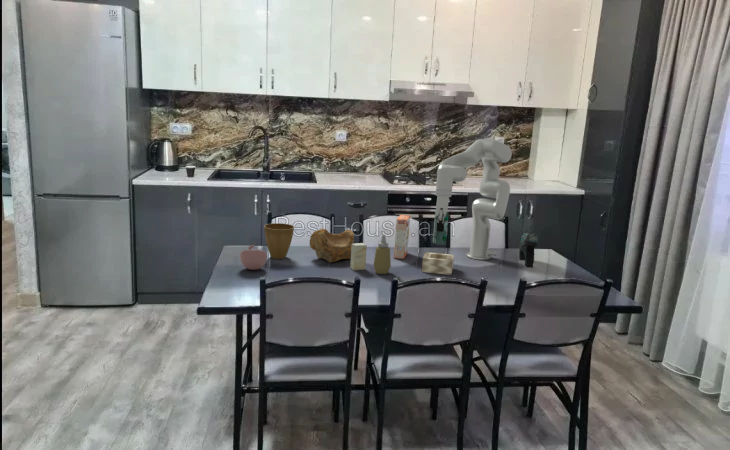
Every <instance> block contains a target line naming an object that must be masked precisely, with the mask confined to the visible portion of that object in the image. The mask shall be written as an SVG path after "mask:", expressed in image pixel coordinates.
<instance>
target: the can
mask: <svg viewBox="0 0 730 450" xmlns="http://www.w3.org/2000/svg"><path fill="white" fill-rule="evenodd" d="M435 214H436V211H434V223H433V234H432V235H433V236H432V243H433V244H436V245H446V244H447V239H448V238H447V236H448V227H449V226H448V225H449V224H448V222H449V214H450V213H449V212H448V211H447V213H446V217H444V230H443V232H441V231H437V223H438V216H437V217H436V216H435ZM443 215H444V214H443ZM443 215H442V217H443ZM442 221H443V220H442Z"/></svg>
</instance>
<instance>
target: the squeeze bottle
mask: <svg viewBox="0 0 730 450" xmlns="http://www.w3.org/2000/svg"><path fill="white" fill-rule="evenodd" d="M386 240H387V239H386V235H384V234H382V235H381V238H380V241H379V242H378V246H376V248H375V252H374V253H375V254H374V259H373V268H374V272H375V273H376V274H379V275H386V274H389V271H390V268H391V267H392V266H391V265H392V264H391V248H390V247H389V242H387V241H386Z"/></svg>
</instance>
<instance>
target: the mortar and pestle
mask: <svg viewBox="0 0 730 450" xmlns="http://www.w3.org/2000/svg"><path fill="white" fill-rule="evenodd" d="M255 246H256V245H255V244H252V245H250V246H248V249H245V250H242V251H241V252H240V255H239V259H240V262H241V265H242V266H243V267H244V268H246V269H248V270H251V271H256V270H260V269H261V268H262V267H264V266H265V264H266V262H267V260H268V254H267V252H266V251H264V250H260V249H253V248H254V247H255Z"/></svg>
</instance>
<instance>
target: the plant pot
mask: <svg viewBox="0 0 730 450" xmlns="http://www.w3.org/2000/svg"><path fill="white" fill-rule="evenodd" d="M263 228H264V229H263V230H264V236H265V238H264V239H265V242H266V246H267V250H268V253H269V256H270V258H271V259H276V260H282V259H283V260H284V259H286V258H287V256H288V255H287V254H288V251H289V250H290V247H291V243H292V239H293V237H294V231H295V226H294V225H293V224H289V223H282V222H281V223H279V222H278V223H275V222H273V223H267V224H264V225H263Z"/></svg>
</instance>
